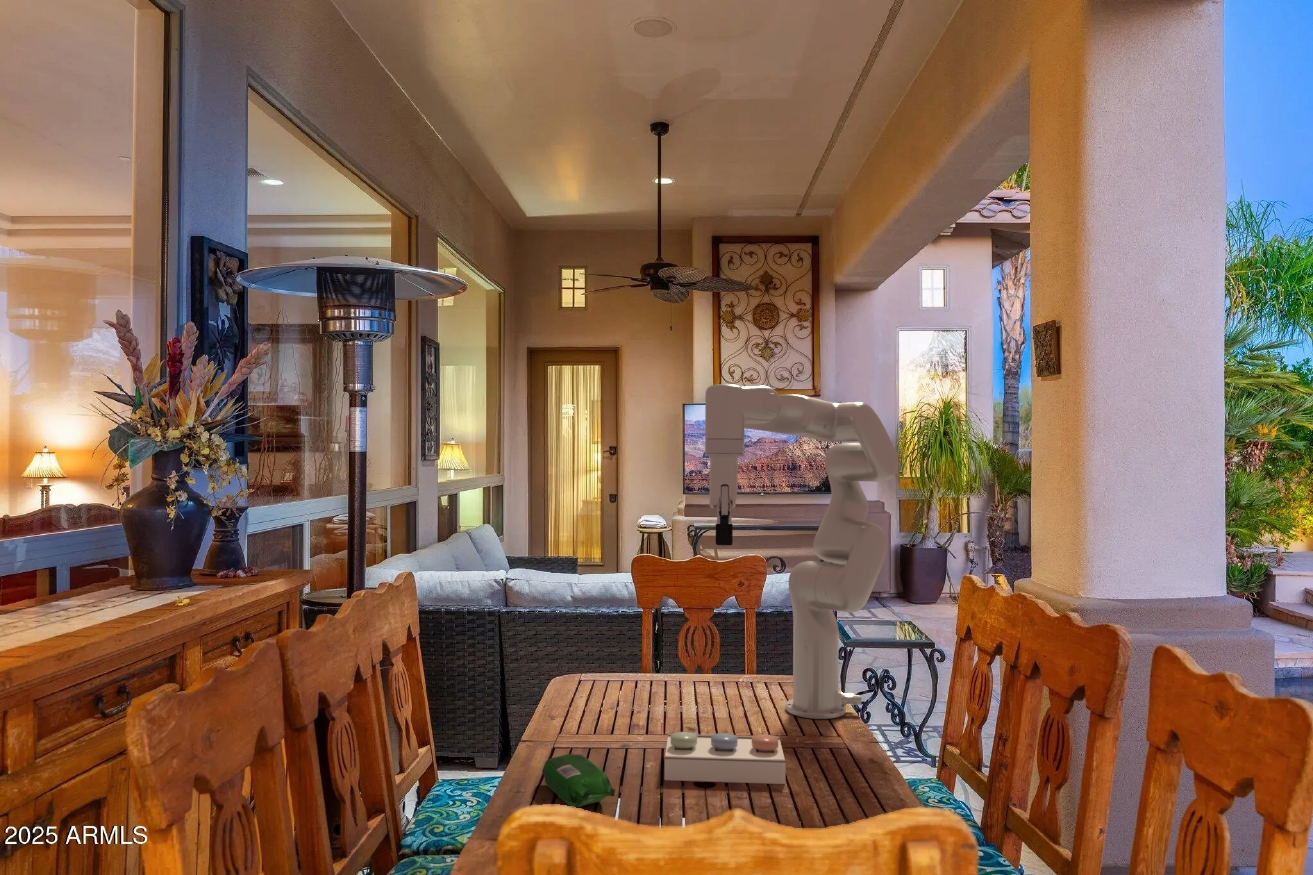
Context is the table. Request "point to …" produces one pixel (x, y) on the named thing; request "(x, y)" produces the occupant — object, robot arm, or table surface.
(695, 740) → the sage button
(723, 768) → the console
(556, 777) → the snack package
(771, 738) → the terracotta button
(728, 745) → the slate button
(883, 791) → the table surface
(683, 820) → the table surface
